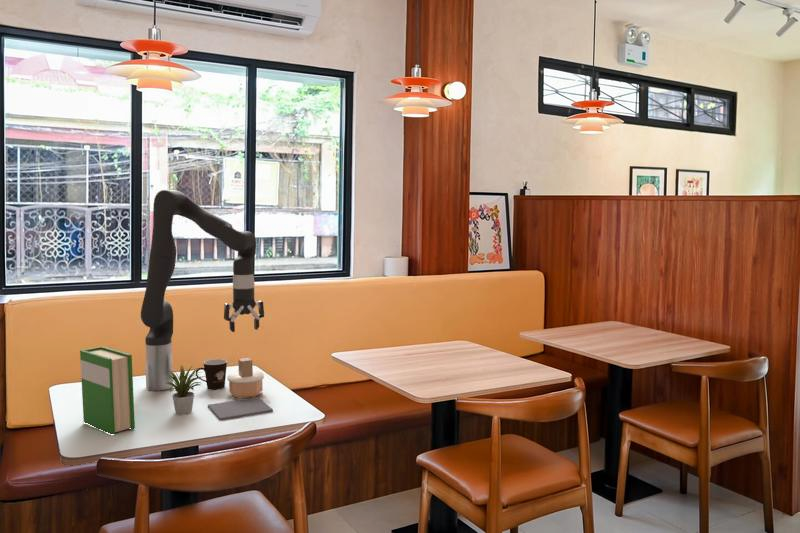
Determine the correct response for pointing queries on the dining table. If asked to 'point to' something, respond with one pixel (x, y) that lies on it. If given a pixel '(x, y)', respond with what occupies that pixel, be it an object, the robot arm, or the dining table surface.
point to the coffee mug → (214, 373)
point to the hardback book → (107, 389)
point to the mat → (239, 408)
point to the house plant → (183, 390)
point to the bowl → (245, 389)
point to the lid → (245, 373)
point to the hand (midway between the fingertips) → (244, 330)
